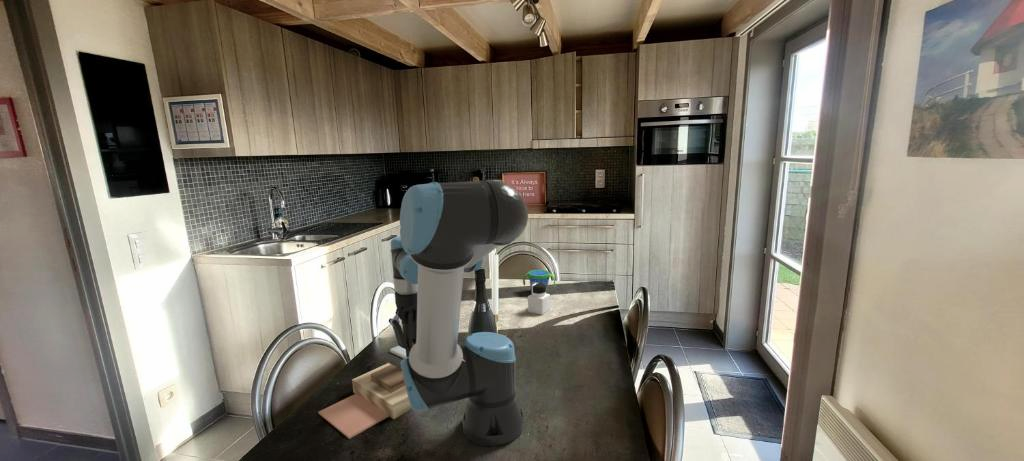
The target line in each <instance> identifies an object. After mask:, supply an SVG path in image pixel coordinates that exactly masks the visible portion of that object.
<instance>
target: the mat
mask: <svg viewBox="0 0 1024 461" xmlns="http://www.w3.org/2000/svg"><path fill="white" fill-rule="evenodd" d="M317 414H319V416H321V417H322V418H323V419H324V420H326V421H327V422H328V423H329V424H331V425H332V426H333V427H334V428H335V429H336V430H338V431H339V432H340V433H341V434H342V435H344V436H345V437H346V438H347V439H349V440H350V439H352V438H353V437H355V436H357V435H359V434H361V433H363V432H365V431H367V429H369V428H371V427H373V426H374V425H377V424H379V423H380V422H382V421H383V420H385V419H387V418H390V417H389V414H387V413H386V412H384V411H383V410H381V409H380V408H378V407H377V406H375V405H374V404H373V403H371V402H370V401H368V400H367V399H365V398H364V397H362V396H361V395H359V394H358V393H356V394H355V393H354V394H352V395H350V396H348V397H346V398H344V399H342V400H340V401H338V402H336V403H333V404H332V405H330V406H327V407H326V408H323V409H321V410H319V411H318V413H317Z"/></svg>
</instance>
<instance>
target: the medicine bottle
mask: <svg viewBox="0 0 1024 461" xmlns="http://www.w3.org/2000/svg"><path fill="white" fill-rule="evenodd" d="M527 305H528V306H527V312H528V313H532V314H537V315H540V316H543V315H544V314H546V313H547V312H549V311H550V310H551V294H550V293H546V285H545V284H543V283H535V284H533V285H532V292H531V294H530V295H528V296H527Z"/></svg>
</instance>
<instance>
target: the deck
mask: <svg viewBox="0 0 1024 461" xmlns="http://www.w3.org/2000/svg"><path fill="white" fill-rule="evenodd" d="M389 365H393V364H391V363H390V362H387V363H386V364H382V365H381V366H378V367H377V368H374V369H372V370H370V371H368V372H366V373H364V374H362V375H359V376H357V377H355V378H352V379H351V381H352V382H351V383H352V391H353V393H354V394H356V393H358V394H359V395H361V396H362V397H364V398H365V399H367V400H368V401H370V402H371V403H373V404H374V405H375V406H377V407H378V408H380V409H381V410H383V411H384V412H386V413H387V414H389V417H388V418H391V419H393V420H396V419H397V418H399V417H400V416H401V415H404V414H405V413H407V412H409V411H410V410H413V409H412V408H411V406H410V402H409V399H408V395H407V391H406V386H404V387H402V388H400V389H398V390H396V391H394V392H392V393H390V392H389V391H387V390H385V389H384V388H382V387H381V386H379V385H377V384H376V383H374V382H372V381H371V375H370V374H372V373H374V372H376V371H379V370H381V369H383V368H385V367H387V366H389Z"/></svg>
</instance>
